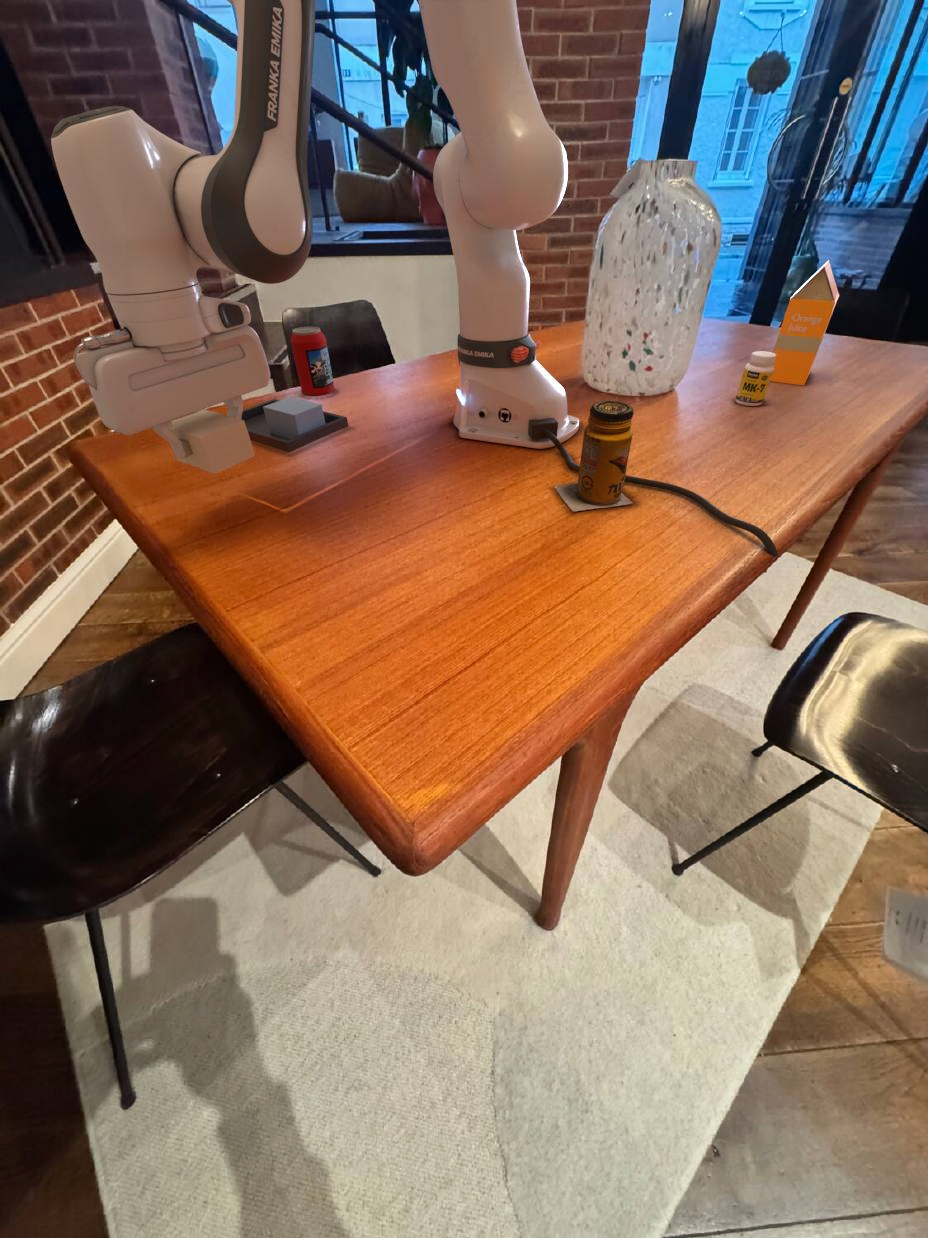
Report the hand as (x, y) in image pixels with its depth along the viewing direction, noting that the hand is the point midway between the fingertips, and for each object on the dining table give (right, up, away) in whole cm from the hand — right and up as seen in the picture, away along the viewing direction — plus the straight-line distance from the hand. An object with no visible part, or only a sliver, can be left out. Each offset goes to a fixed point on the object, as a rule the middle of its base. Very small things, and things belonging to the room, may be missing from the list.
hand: (211, 444), depth 65 cm
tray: (-1, +12, +29) cm, 31 cm away
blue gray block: (+2, +11, +27) cm, 29 cm away
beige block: (0, -1, +1) cm, 2 cm away
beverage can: (+1, +25, +45) cm, 51 cm away
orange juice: (+99, +29, +44) cm, 112 cm away
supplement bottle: (+85, +19, +34) cm, 93 cm away
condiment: (+49, -5, +7) cm, 50 cm away
